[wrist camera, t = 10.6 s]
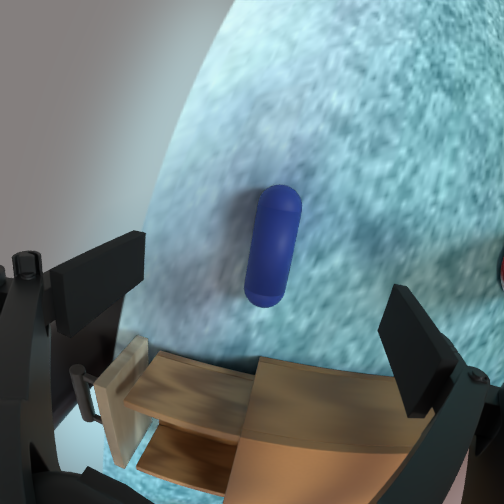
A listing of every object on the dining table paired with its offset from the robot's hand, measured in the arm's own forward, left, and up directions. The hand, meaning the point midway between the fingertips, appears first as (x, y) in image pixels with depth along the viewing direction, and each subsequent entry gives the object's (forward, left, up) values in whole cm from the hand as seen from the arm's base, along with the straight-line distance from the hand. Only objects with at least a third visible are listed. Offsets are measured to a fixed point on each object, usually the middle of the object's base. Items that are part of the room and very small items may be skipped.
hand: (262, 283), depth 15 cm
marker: (0, 0, -8) cm, 8 cm away
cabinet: (+9, -17, -8) cm, 21 cm away
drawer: (-6, -17, -7) cm, 19 cm away
